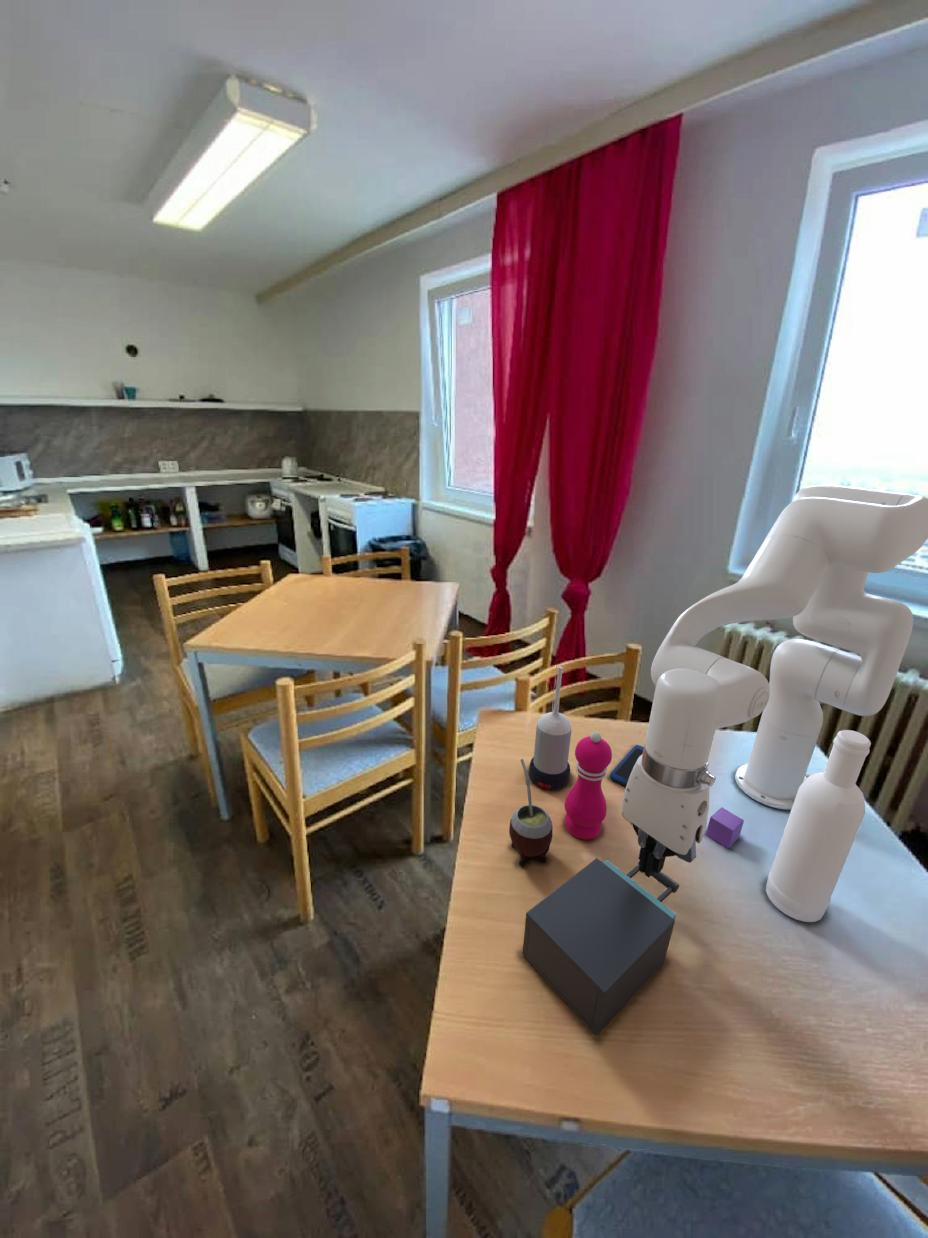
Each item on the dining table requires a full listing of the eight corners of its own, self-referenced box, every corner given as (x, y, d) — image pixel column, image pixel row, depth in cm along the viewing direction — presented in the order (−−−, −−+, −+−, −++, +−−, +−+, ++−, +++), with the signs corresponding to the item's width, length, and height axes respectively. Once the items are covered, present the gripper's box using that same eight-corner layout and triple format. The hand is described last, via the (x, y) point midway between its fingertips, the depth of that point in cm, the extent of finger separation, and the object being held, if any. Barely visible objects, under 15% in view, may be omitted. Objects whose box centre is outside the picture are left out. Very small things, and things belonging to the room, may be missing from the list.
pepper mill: (604, 845, 89) (620, 749, 81) (561, 838, 90) (573, 742, 82) (602, 815, 95) (617, 723, 87) (562, 809, 96) (574, 717, 89)
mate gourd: (539, 877, 82) (547, 803, 77) (495, 855, 86) (500, 783, 80) (557, 846, 88) (566, 775, 82) (515, 827, 92) (521, 758, 86)
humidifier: (537, 793, 100) (548, 679, 90) (523, 766, 107) (531, 658, 98) (576, 787, 102) (590, 675, 92) (559, 761, 109) (571, 655, 100)
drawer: (623, 870, 83) (629, 841, 80) (690, 923, 75) (699, 892, 72) (540, 941, 72) (543, 909, 69) (607, 1012, 63) (614, 978, 61)
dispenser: (590, 897, 79) (596, 857, 76) (664, 962, 70) (675, 920, 67) (522, 954, 71) (526, 912, 68) (596, 1036, 62) (605, 993, 59)
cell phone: (669, 760, 110) (669, 757, 110) (643, 795, 100) (643, 791, 100) (635, 746, 114) (636, 743, 114) (607, 778, 104) (608, 775, 104)
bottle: (816, 886, 82) (879, 726, 70) (831, 931, 75) (903, 761, 63) (760, 872, 84) (812, 715, 73) (769, 913, 77) (828, 747, 66)
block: (717, 824, 94) (721, 807, 92) (739, 837, 91) (744, 820, 89) (705, 834, 91) (710, 817, 90) (728, 848, 89) (733, 831, 87)
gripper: (745, 783, 63) (713, 892, 70) (639, 726, 74) (620, 825, 81) (714, 809, 59) (684, 923, 66) (606, 745, 69) (590, 848, 76)
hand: (649, 869), depth 73 cm, fingers closed
